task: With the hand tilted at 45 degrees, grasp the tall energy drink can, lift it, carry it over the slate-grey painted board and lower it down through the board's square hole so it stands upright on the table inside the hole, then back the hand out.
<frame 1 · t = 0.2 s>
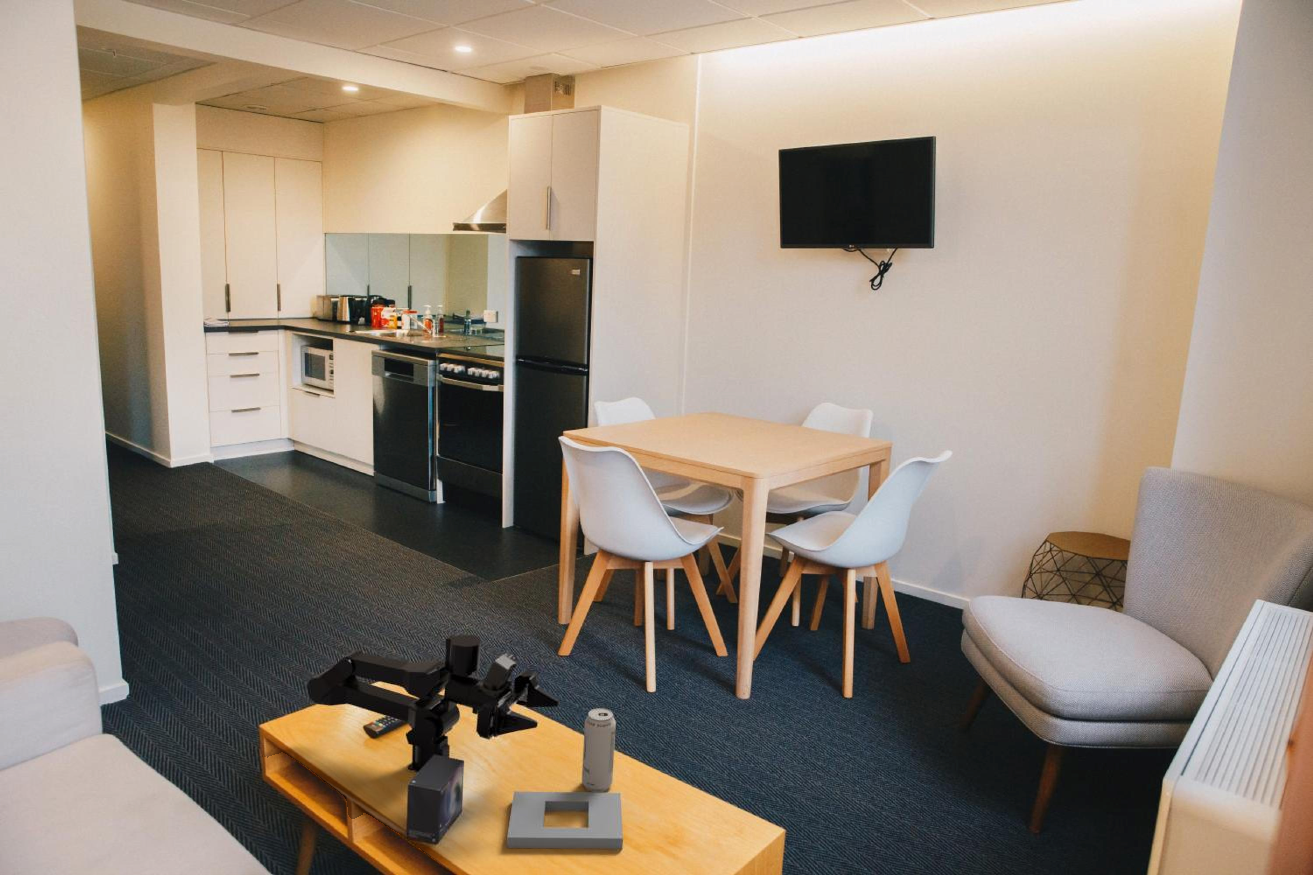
hand: (548, 713, 164), 17 cm above the table, tool horizontal, fingers open, 9 cm apart
hole board: (566, 823, 159), on the table
energy drink can: (596, 786, 172), on the table
small box: (435, 825, 156), on the table
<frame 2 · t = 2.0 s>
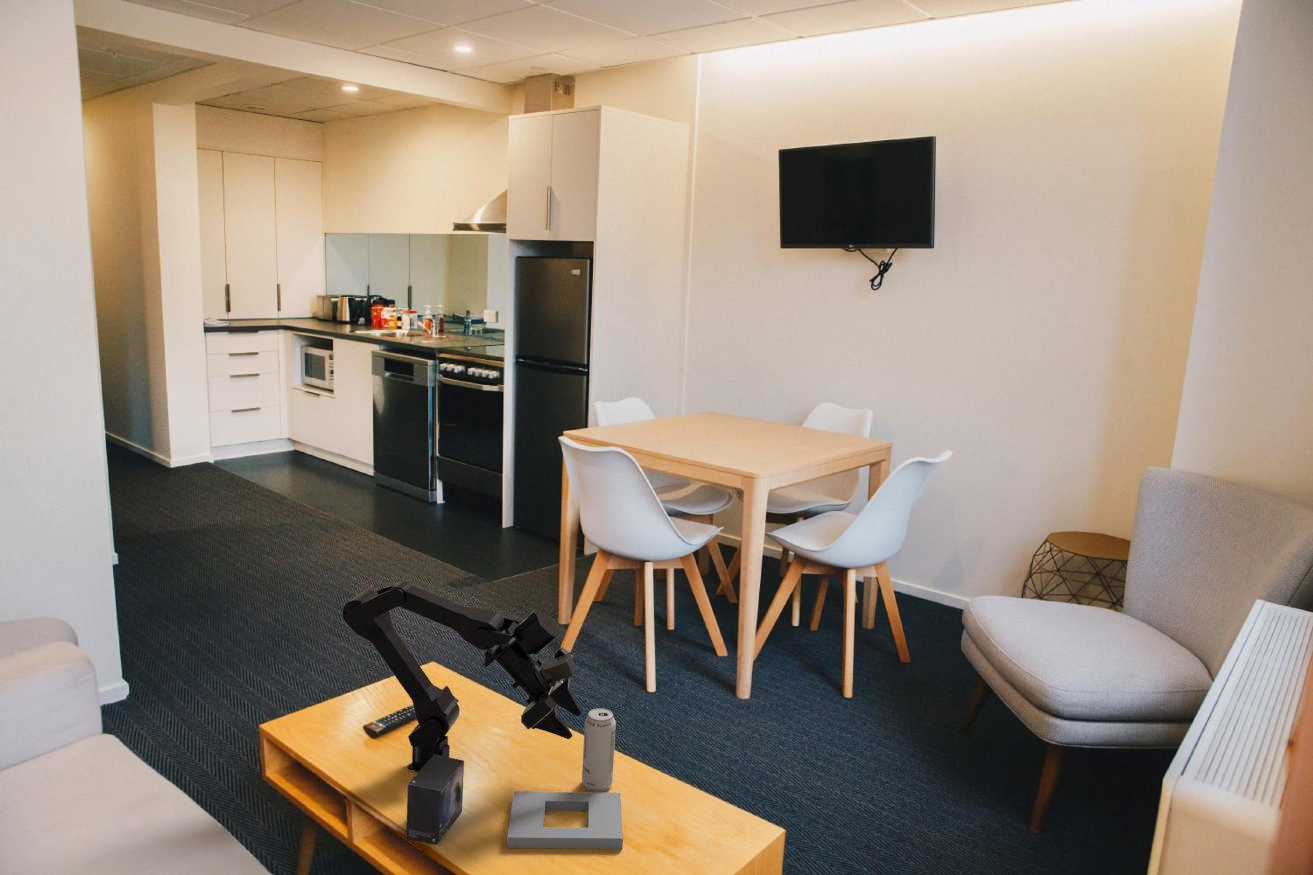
hand: (575, 725, 170), 12 cm above the table, tool tilted 45°, fingers open, 9 cm apart
nothing on the table moved.
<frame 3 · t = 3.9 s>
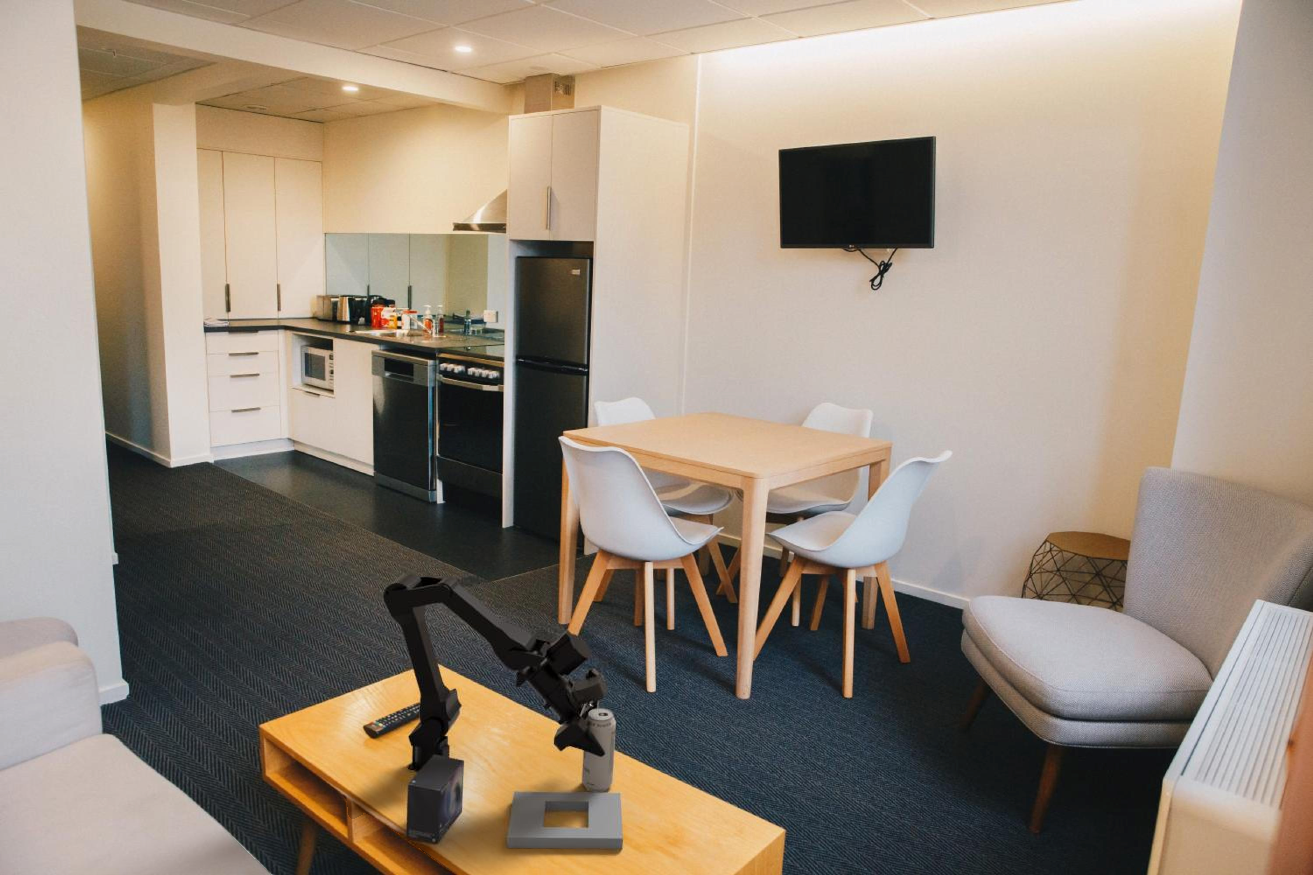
hand: (606, 746, 170), 8 cm above the table, tool tilted 45°, fingers closed on energy drink can, 6 cm apart
energy drink can: (596, 786, 172), on the table, touching gripper
everything else where it was.
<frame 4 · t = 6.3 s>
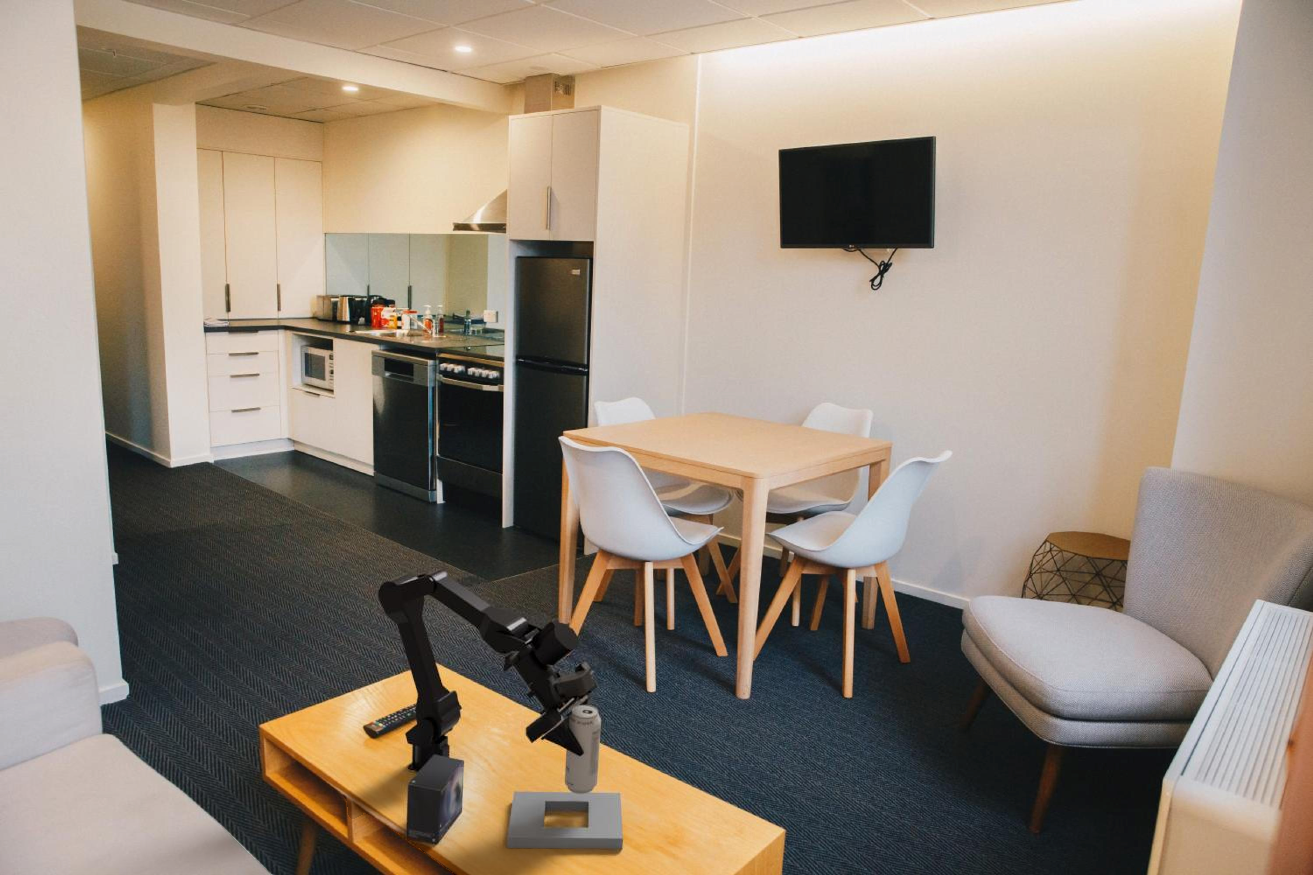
hand: (589, 746, 160), 13 cm above the table, tool tilted 45°, fingers closed on energy drink can, 6 cm apart
energy drink can: (580, 787, 162), point 5 cm above the table, touching gripper
everything else where it was.
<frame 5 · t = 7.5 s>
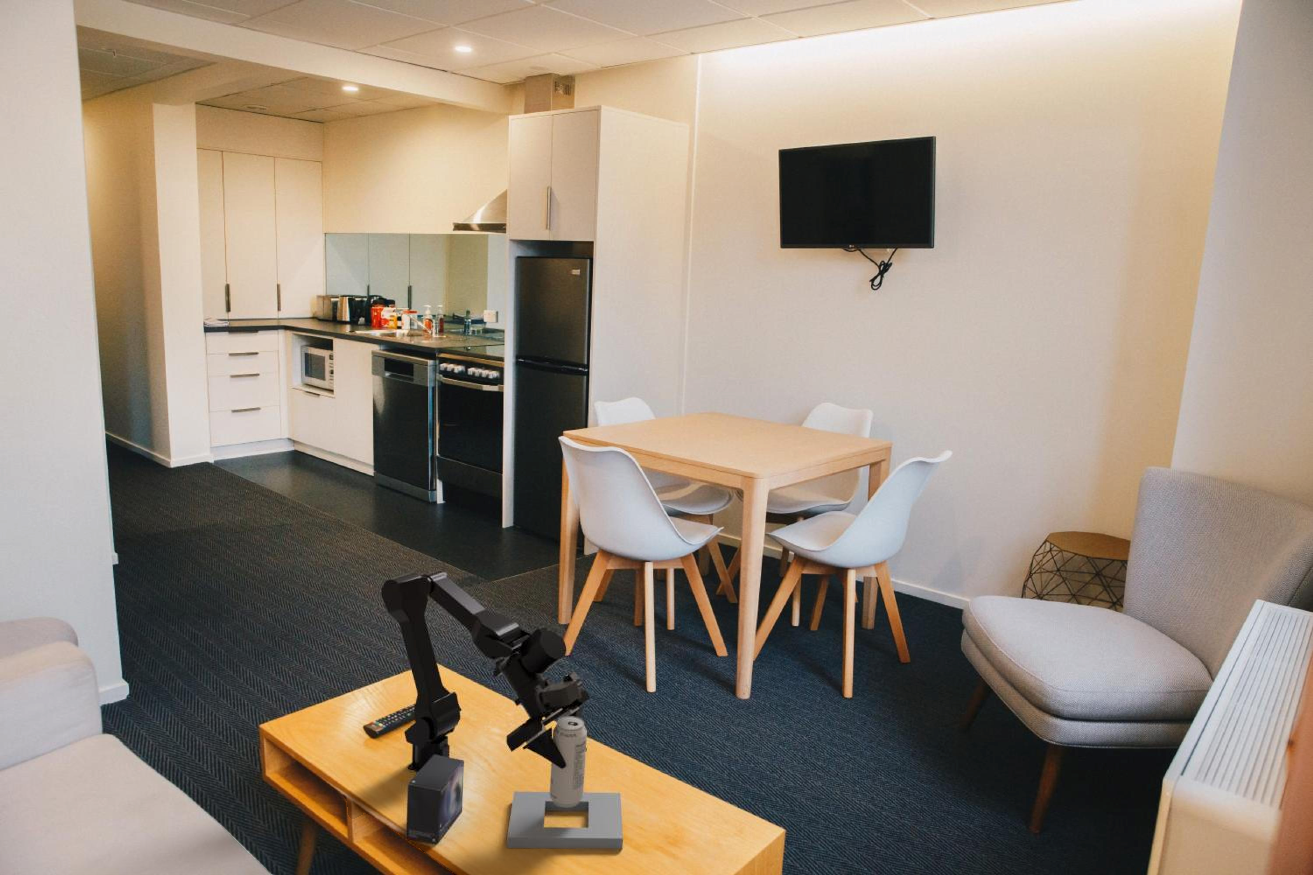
hand: (574, 759, 156), 13 cm above the table, tool tilted 45°, fingers closed on energy drink can, 6 cm apart
energy drink can: (566, 800, 158), point 5 cm above the table, touching gripper
everything else where it was.
when the fingers open (9 cm above the table, at t = 8.8 s): energy drink can stays where it is, resting in hole board.
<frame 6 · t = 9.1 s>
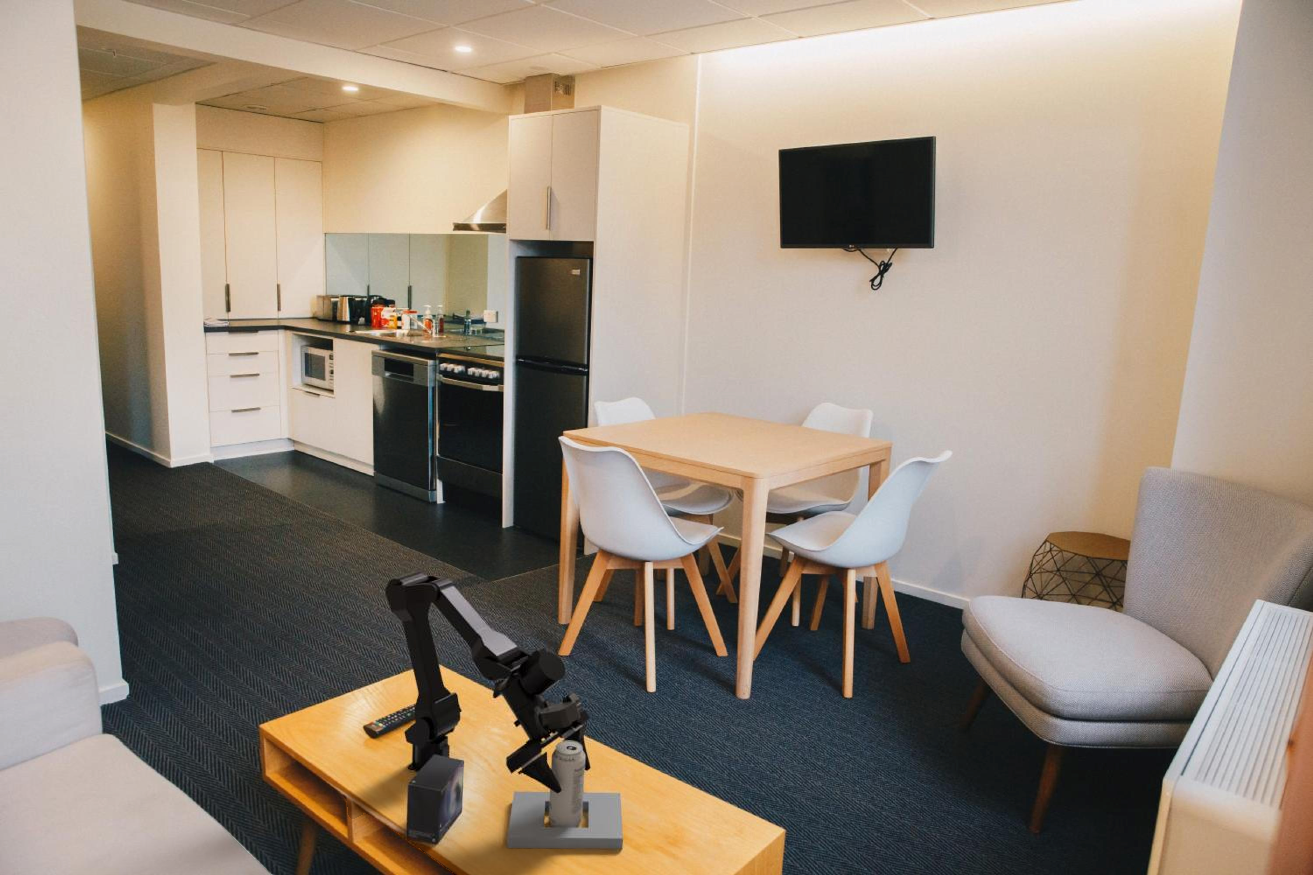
hand: (574, 780, 156), 9 cm above the table, tool tilted 45°, fingers open, 9 cm apart
energy drink can: (564, 824, 159), resting in hole board
everything else where it was.
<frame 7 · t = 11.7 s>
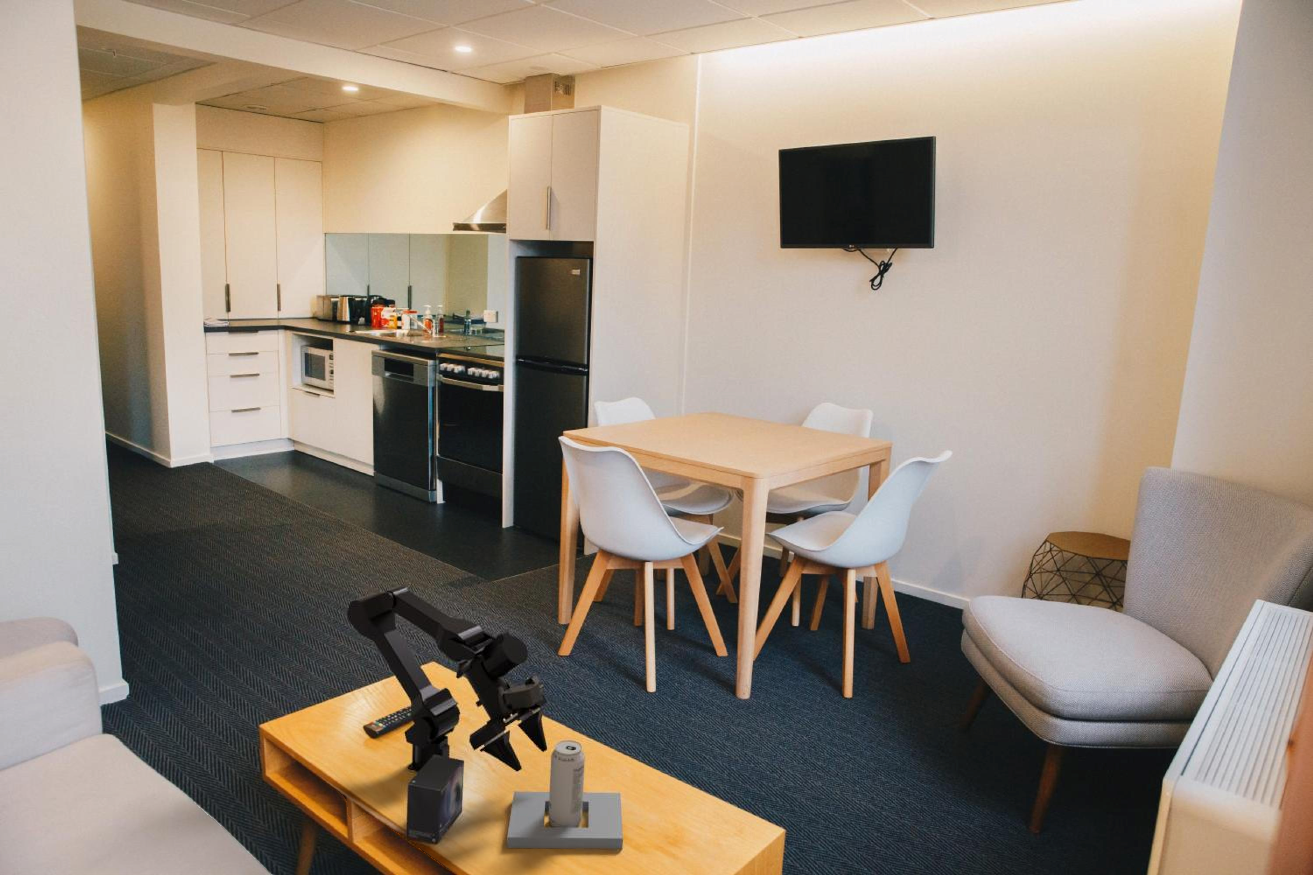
hand: (532, 760, 162), 9 cm above the table, tool tilted 40°, fingers open, 9 cm apart
nothing on the table moved.
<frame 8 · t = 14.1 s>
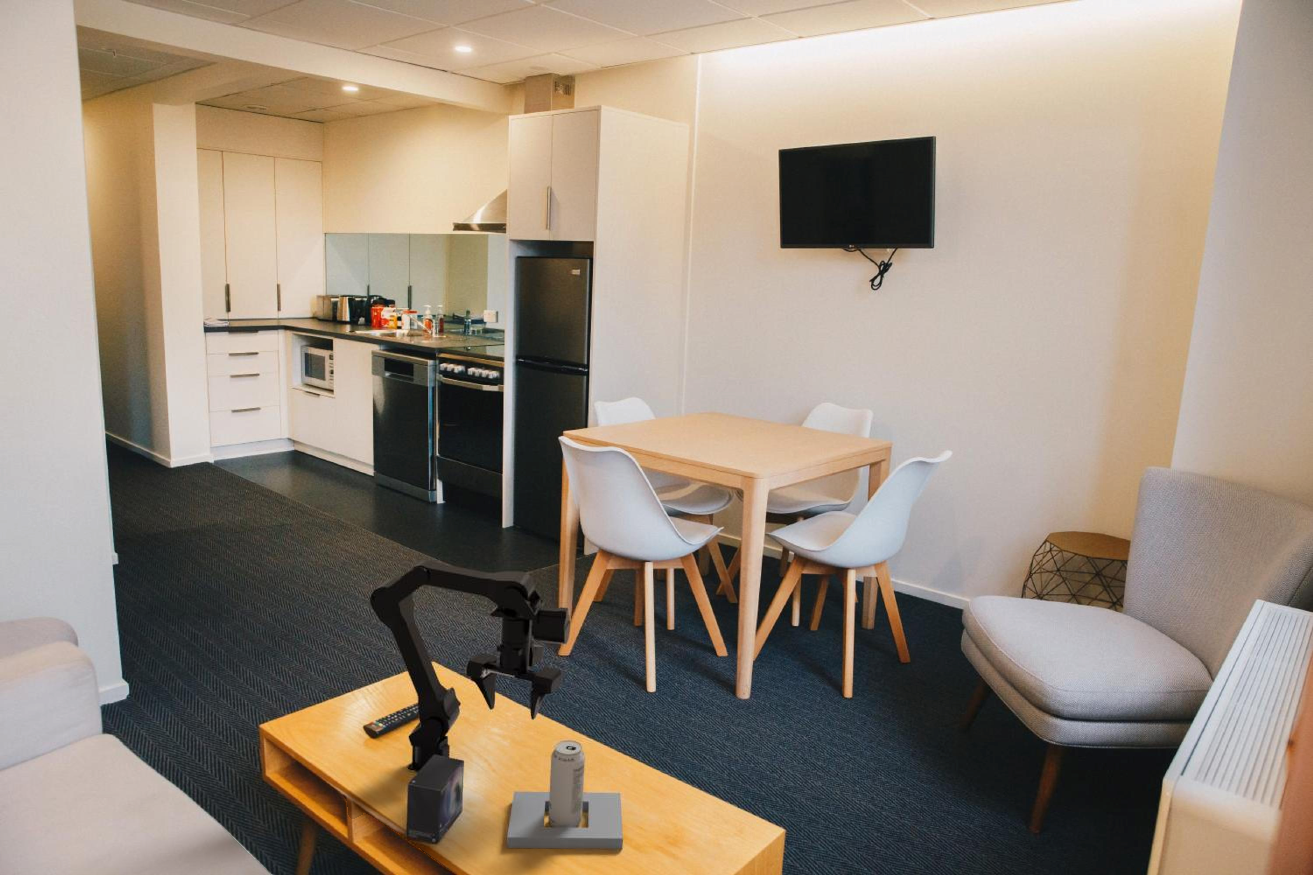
hand: (512, 713, 171), 13 cm above the table, tool pointing down, fingers open, 9 cm apart
nothing on the table moved.
at the end: energy drink can 0.2 cm off-centre on the hole board, point 0.0 cm above the hole board's base; energy drink can tilted 0°; the gripper is holding nothing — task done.
